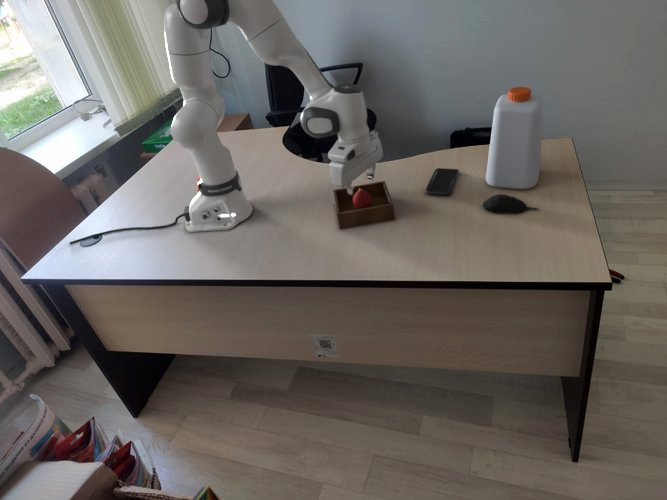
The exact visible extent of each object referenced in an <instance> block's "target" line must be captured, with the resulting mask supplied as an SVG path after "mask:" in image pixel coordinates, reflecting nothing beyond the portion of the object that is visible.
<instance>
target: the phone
mask: <svg viewBox="0 0 667 500" xmlns="http://www.w3.org/2000/svg"><path fill="white" fill-rule="evenodd" d="M459 175H460V170H459V169H458V168H444V167H443V168H441V167H438V168H437V167H436V169H435V170H434V172H433V173H432V176H431V177H430V180H429V182H428V184H427V186H426V189H425V194H426V195H431V196H442V197H443V196H444V197H448V196H451V195H452V192H453V190H454V187H455V184H456V182H457V180H458V178H459Z"/></svg>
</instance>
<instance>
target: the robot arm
mask: <svg viewBox="0 0 667 500" xmlns="http://www.w3.org/2000/svg"><path fill="white" fill-rule="evenodd" d="M227 23H231V24H233V25H235V26H236V27H237V29H238V30H239V31H240V33H241V34H242V36H243V37H244V39H245V40H246V42H247V44H248V45H249V47H250V48H251V50H252V52H253V53H254V54H255V55H256V56H257V57H258V59H259V60H260V61H261V62H263V63H264V64H266V65H270V66H273V67H275V66H281V67H285V68H287V69H289V70H290V71H291V72H293V74H294V75H295V76H296V77H297V79H298V80H299V82H300V83H301V85H302V86H303V87H304V89H305V90H306V92H307V93H308V96H309V102H308V103H307V104H306V106H305V107H304V109H303V111H302V112H301V114H300V117H299V118H300V126H301V127H302V128H301V129H303V131H304V132H305V134H307V135H308V136H309V137H312V138H314V139H322V138H327V137H331V136H335V135H337V138H338V139H336V141H335V143H334V144H333V146H332V147H331V148H330V150H329V151H328V152H327V158H328V159H329V160H330V162H329V173H330V178H331V179H330V180H331V182H332V184H333V185H334V186H336V187H338V188H347V191H348V194H351V195H352V194H353V193H355V187H353V186H352V184H353V183H352V182H353V181H354V180H356V179H357V178H359V177H360V176H361V175H363V174H364V173H365V172H366V178H367V180H372V179H373V178H375V171H376V167H377V163H378V162H380V161H381V160H382V159H383V157H384V150H383V145H382V142H381V139H380V138H379V137H380V136H379V132H378V131H376V130H374V129H373V130H371V131H370V128H369V125H368V110H367V104H366V101H365V100H366V99H365V96H364V93H363V91H362V89H361V88H360V87H359V86H358V85H356V84H353V83H348V82H346V83H345V82H344V83H339V84H336V85H333V84H332V83H331V82H329V80H328V79H327V78H326V77H325V75H324V74H323V71H321V69H320V67H319V66H318V65H317V63H316V61H314V59H313V58H312V56H311V54H310V53H309V52H308V51H307V49H306V48H305V47H304V45H303V44H302V42H301V41H300V40H299V39H298V38H297V35H296V34H295V33H294V31H293V30H292V28H291V27H290V25H289V23H288V21H287V20H286V18H285V16H284V15H283V13H282V12H281V10H280V8H279V7H278V5H277V4H276V3H275V1H274V0H176V2H175V3H172V4H170V5H169V6H167V7H166V9H165V10H164V13H163V33H164V42H165V48H166V54H167V58H168V59H167V60H168V62H169V63H168V64H169V69H170V74H171V75H170V76H171V79H172V82H173V83H174V84H175V85H176V86H178V88H179V90H180V92H181V96H182V98H183V105H182V107H181V108H180V109H179V110H178V111H177V112H176V113H175V115H174V117H173V119H172V123H171V126H170V134H171V138H172V139H173V141H174V142H175V144H177V146H179V147H181V148H183V149H185V150H186V151H187V152H188V153H189V155H190V157H191V158H192V160H193V162H194V163H195V166H196V169H197V172H198V174H199V175H198V176H197V183H196V189H197V193H196V194H195V195H194V197H193V198H192V199H191V201H190V203H189V205H187V206H184V209H183V213H181V214H179V215H177V217H176V218H175V220H174V221H173V222H172V223H170V224H165V225H156V226H134V227H123V228H116V229H111V230H107V231H106V230H105V231H102V232H99V233H95V234H92V235H89V236H85V237H82V238H79V239H75V240H72V241H69V245H72V244H76V243H79V242H82V241H85V240H89V239H93V238H96V237H100V236H103V235H106V234H107V235H108V234H111V233H117V232H123V231H135V230H156V229H157V230H158V229H165V228H170V227H173V226H175V225H177V223H178V222H179V219H181V218H183V217H184V219H185V223H184V225H185V229H186V231H187V232H188V233H197V232H211V231H227V230H229V231H230V230H232V229H233V228H234V227H235V226H236V225H238V224H239V223H242V222H244V221H245V220H246V219H248V218H249V216H251V215H252V214H253V210H254V208H253V206H252V204H251V203H250V201H249V199H248V198H247V195H246V194H245V192H244V189H243V183H242V180H241V177H240V174H239V172H238V170H236V166H235V164H234V159H233V157H232V154H231V153H232V152H231V150H230V149H229V148H228V147H227V146H225V145H224V144H223V142H222V141H221V139H220V138H219V135H218V128H219V126H220V125H221V123H222V122H223V121H224V118H225V114H226V101H225V100H224V98H223V97H222V95H221V94H220V92H219V90H218V87H217V84H216V80H215V77H214V71H213V64H212V57H211V51H210V45H209V37H208V30H210V29H214V28H217V27H221V26H225V25H227Z"/></svg>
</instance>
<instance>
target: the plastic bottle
mask: <svg viewBox="0 0 667 500" xmlns="http://www.w3.org/2000/svg"><path fill="white" fill-rule="evenodd" d="M543 104H544V100H543V97H542V96H541V95H540V94H537V93H532V89H531V88H529V87H527V86H516V87H512V88H510V89H509V90H508V92H507V93H504V94H502V95H500V96H499V98H498V100H497V102H496V104H495V106H494V110H493V118H492V124H491V132H490V133H491V134H490V140H489V148H488V156H487V165H486V173H485V182H486V184H488V185H489V186H491V187H492V188H498V189H509V190H510V189H511V190H529V189H532V188H534V187H536V185H537V184H538V181H539V177H540V173H541V158H542V157H541V154H542V133H543V131H542V130H543V129H542V128H543V107H544V106H543Z"/></svg>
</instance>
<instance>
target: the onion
mask: <svg viewBox="0 0 667 500" xmlns="http://www.w3.org/2000/svg"><path fill="white" fill-rule="evenodd" d="M353 204H354V206H355V207H356V208H357V209H363V208H369V207H370V206H371V204H372V197H371V195H370V194H369V193H368V192H367V191H365V190H362V189H361V188H359V191H357V192H356V193H355V195H354V197H353Z"/></svg>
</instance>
